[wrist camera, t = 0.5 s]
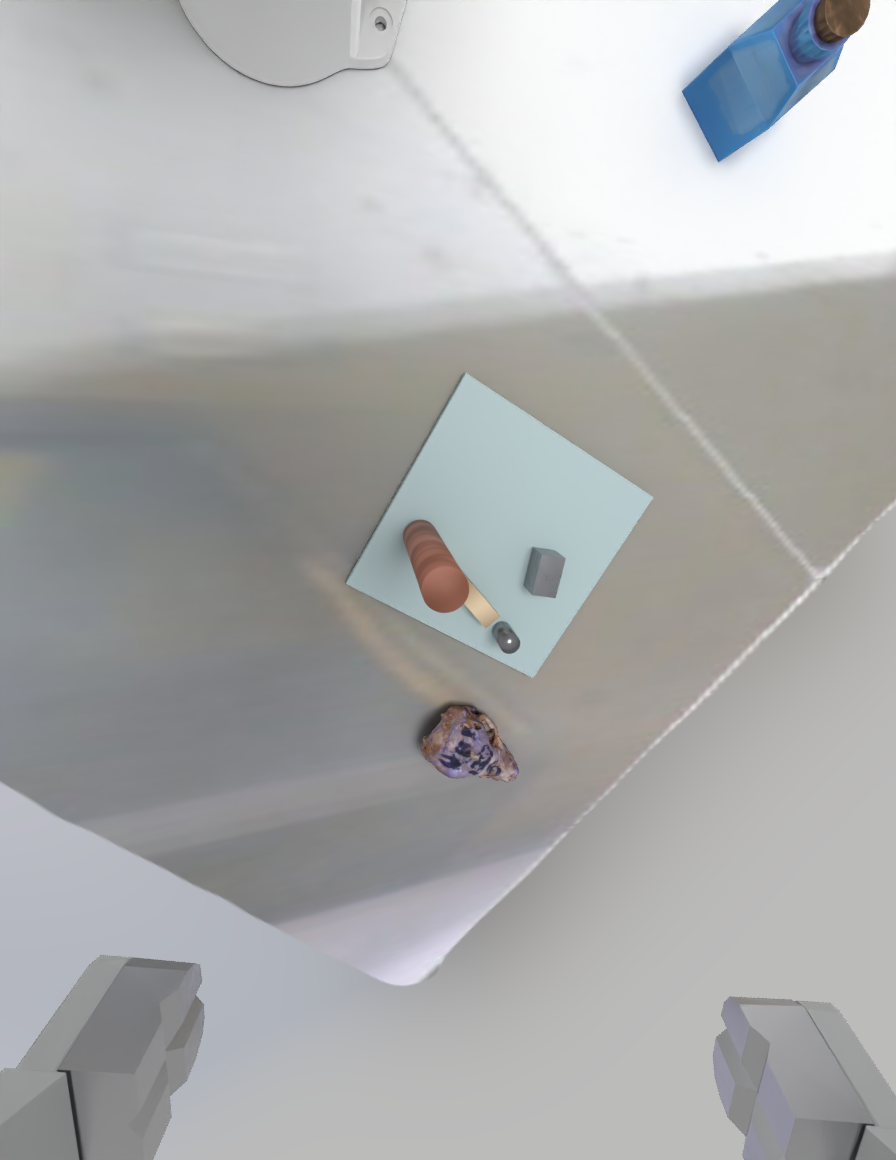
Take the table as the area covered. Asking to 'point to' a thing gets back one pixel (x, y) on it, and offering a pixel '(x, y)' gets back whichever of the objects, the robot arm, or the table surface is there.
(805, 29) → the perfume bottle
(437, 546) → the brown piece
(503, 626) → the hinge pin
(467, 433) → the board
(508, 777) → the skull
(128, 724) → the table surface
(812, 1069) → the robot arm
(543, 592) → the block
